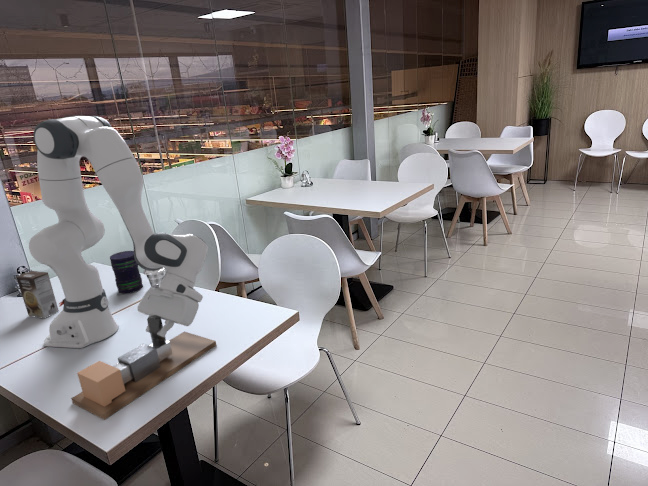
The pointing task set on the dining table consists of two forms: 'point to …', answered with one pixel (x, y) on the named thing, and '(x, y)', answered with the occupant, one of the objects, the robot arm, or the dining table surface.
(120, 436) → the dining table surface
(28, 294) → the coffee box
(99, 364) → the socket block
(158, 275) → the cup with straw
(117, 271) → the storage jar
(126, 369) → the grey piece
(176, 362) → the walnut board
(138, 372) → the metal sleeve
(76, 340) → the robot arm
